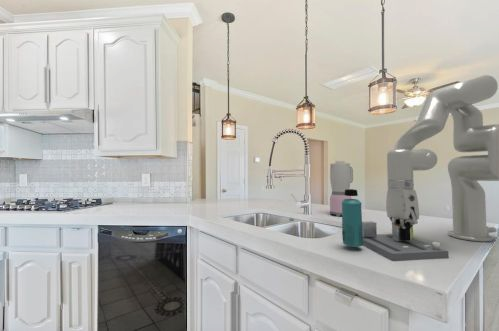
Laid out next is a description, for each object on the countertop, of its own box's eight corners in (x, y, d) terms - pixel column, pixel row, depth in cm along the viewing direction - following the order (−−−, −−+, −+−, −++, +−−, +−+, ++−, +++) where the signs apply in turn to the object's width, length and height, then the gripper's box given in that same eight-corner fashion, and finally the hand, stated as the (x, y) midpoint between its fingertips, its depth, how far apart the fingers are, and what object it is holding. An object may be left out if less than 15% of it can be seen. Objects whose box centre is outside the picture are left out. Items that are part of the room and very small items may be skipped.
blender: (339, 217, 132) (338, 160, 133) (325, 214, 143) (324, 161, 144) (361, 215, 137) (360, 161, 138) (346, 212, 148) (345, 161, 149)
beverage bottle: (367, 250, 77) (366, 189, 78) (351, 252, 75) (349, 190, 76) (353, 244, 83) (352, 188, 84) (337, 246, 82) (336, 188, 82)
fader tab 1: (372, 234, 87) (372, 221, 87) (376, 236, 84) (376, 222, 85) (359, 235, 86) (359, 221, 87) (363, 237, 84) (363, 223, 84)
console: (398, 238, 90) (398, 228, 90) (448, 257, 70) (448, 244, 70) (354, 240, 88) (354, 230, 88) (392, 260, 68) (392, 246, 68)
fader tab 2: (405, 238, 82) (405, 223, 82) (411, 240, 80) (410, 225, 80) (392, 239, 82) (392, 224, 82) (397, 241, 79) (397, 225, 79)
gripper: (430, 186, 73) (432, 245, 73) (393, 183, 89) (395, 232, 89) (408, 186, 73) (410, 246, 72) (375, 184, 89) (376, 233, 88)
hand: (401, 238), depth 81 cm, fingers closed on fader tab 2, 2 cm apart
